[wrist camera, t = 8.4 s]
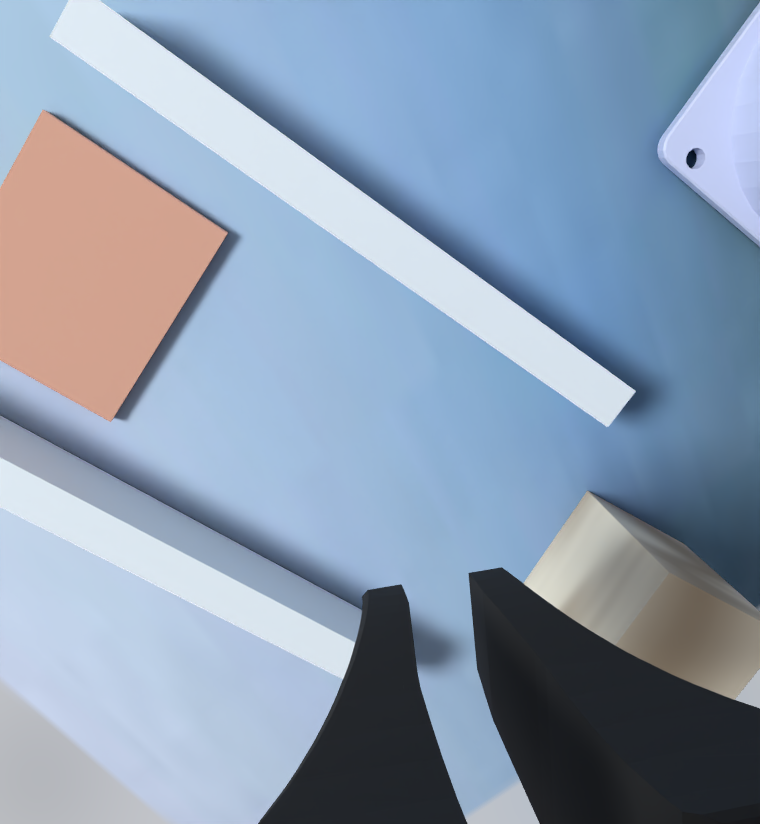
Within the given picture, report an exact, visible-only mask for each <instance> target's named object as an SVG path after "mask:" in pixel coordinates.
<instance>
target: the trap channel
mask: <svg viewBox="0 0 760 824" xmlns="http://www.w3.org/2000/svg"><path fill="white" fill-rule="evenodd" d="M49 37H51V38H52V39H53V40H55V41H56V42H58V43H59V44H61V45H62V46H63V47H65V48H66V49H68V50H69V51H71V52H72V53H73V54H75V55H76V56H78V57H79V58H81V59H82V60H83V61H85V62H86V63H88V64H89V65H91V66H92V67H93V68H95V69H96V70H98V71H99V72H101V73H102V74H103V75H105V76H106V77H108V78H109V79H111V80H112V81H113V82H115V83H116V84H118V85H119V86H121V87H122V88H123V89H125V90H126V91H128V92H129V93H131V94H132V95H133V96H135V97H136V98H138V99H139V100H141V101H142V102H143V103H145V104H146V105H148V106H149V107H151V108H152V109H153V110H155V111H156V112H158V113H159V114H161V115H162V116H163V117H165V118H166V119H168V120H169V121H171V122H172V123H174V124H175V125H176V126H178V127H179V128H181V129H182V130H184V131H185V132H186V133H188V134H189V135H191V136H192V137H194V138H195V139H196V140H198V141H199V142H201V143H202V144H204V145H205V146H206V147H208V148H209V149H211V150H212V151H214V152H215V153H216V154H218V155H219V156H221V157H222V158H224V159H225V160H226V161H228V162H229V163H231V164H232V165H234V166H235V167H236V168H238V169H239V170H241V171H242V172H244V173H245V174H246V175H248V176H249V177H251V178H252V179H254V180H255V181H256V182H258V183H259V184H261V185H262V186H264V187H265V188H266V189H268V190H269V191H271V192H272V193H274V194H275V195H276V196H278V197H279V198H281V199H282V200H284V201H285V202H286V203H288V204H289V205H291V206H292V207H294V208H295V209H296V210H298V211H299V212H301V213H302V214H304V215H305V216H306V217H308V218H309V219H311V220H312V221H314V222H315V223H316V224H318V225H319V226H321V227H322V228H324V229H325V230H326V231H328V232H329V233H331V234H332V235H334V236H335V237H336V238H338V239H339V240H341V241H342V242H344V243H345V244H346V245H348V246H349V247H351V248H352V249H354V250H355V251H356V252H358V253H359V254H361V255H362V256H364V257H365V258H366V259H368V260H369V261H371V262H372V263H374V264H375V265H376V266H378V267H379V268H381V269H382V270H384V271H385V272H387V273H388V274H389V275H391V276H392V277H394V278H395V279H397V280H398V281H399V282H401V283H402V284H404V285H405V286H407V287H408V288H409V289H411V290H412V291H414V292H415V293H417V294H418V295H419V296H421V297H422V298H424V299H425V300H427V301H428V302H429V303H431V304H432V305H434V306H435V307H437V308H438V309H439V310H441V311H442V312H444V313H445V314H447V315H448V316H449V317H451V318H452V319H454V320H455V321H457V322H458V323H459V324H461V325H462V326H464V327H465V328H467V329H468V330H469V331H471V332H472V333H474V334H475V335H477V336H478V337H479V338H481V339H482V340H484V341H485V342H487V343H488V344H489V345H491V346H492V347H494V348H495V349H497V350H498V351H499V352H501V353H502V354H504V355H505V356H507V357H508V358H509V359H511V360H512V361H514V362H515V363H517V364H518V365H519V366H521V367H522V368H524V369H525V370H527V371H528V372H529V373H531V374H532V375H534V376H535V377H537V378H538V379H539V380H541V381H542V382H544V383H545V384H547V385H548V386H549V387H551V388H552V389H554V390H555V391H557V392H558V393H559V394H561V395H562V396H564V397H565V398H567V399H568V400H569V401H571V402H572V403H574V404H575V405H577V406H578V407H579V408H581V409H582V410H584V411H585V412H587V413H588V414H590V415H591V416H592V417H594V418H595V419H597V420H598V421H600V422H601V423H602V424H604V425H605V426H607V427H608V426H609V425H610V424H611V423H612V421H613V420H614V419H615V417H616V416H617V415H618V414H619V412H620V411H621V410H622V408H623V407H624V406H625V405H626V403H627V402H628V401H629V399H630V398H631V397H632V396H633V394H634V393H635V392H636V391H635V390H634V389H632V388H631V387H630V386H628V385H627V384H625V383H624V382H623V381H621V380H620V379H619V378H617V377H616V376H614V375H613V374H612V373H610V372H609V371H608V370H606V369H605V368H603V367H602V366H601V365H599V364H598V363H597V362H595V361H594V360H592V359H591V358H590V357H588V356H587V355H586V354H584V353H583V352H581V351H580V350H579V349H577V348H576V347H575V346H573V345H572V344H571V343H569V342H568V341H566V340H565V339H564V338H562V337H561V336H560V335H558V334H557V333H555V332H554V331H553V330H551V329H550V328H549V327H547V326H546V325H544V324H543V323H542V322H540V321H539V320H538V319H536V318H535V317H533V316H532V315H531V314H529V313H528V312H527V311H525V310H524V309H522V308H521V307H520V306H518V305H517V304H516V303H514V302H513V301H511V300H510V299H509V298H507V297H506V296H505V295H503V294H502V293H501V292H499V291H498V290H496V289H495V288H494V287H492V286H491V285H490V284H488V283H487V282H485V281H484V280H483V279H481V278H480V277H479V276H477V275H476V274H474V273H473V272H472V271H470V270H469V269H468V268H466V267H465V266H463V265H462V264H461V263H459V262H458V261H457V260H455V259H454V258H452V257H451V256H450V255H448V254H447V253H446V252H444V251H443V250H441V249H440V248H439V247H437V246H436V245H435V244H433V243H432V242H431V241H429V240H428V239H426V238H425V237H424V236H422V235H421V234H420V233H418V232H417V231H415V230H414V229H413V228H411V227H410V226H409V225H407V224H406V223H404V222H403V221H402V220H400V219H399V218H398V217H396V216H395V215H393V214H392V213H391V212H389V211H388V210H387V209H385V208H384V207H382V206H381V205H380V204H378V203H377V202H376V201H374V200H373V199H371V198H370V197H369V196H367V195H366V194H365V193H363V192H362V191H361V190H359V189H358V188H356V187H355V186H354V185H352V184H351V183H350V182H348V181H347V180H345V179H344V178H343V177H341V176H340V175H339V174H337V173H336V172H334V171H333V170H332V169H330V168H329V167H328V166H326V165H325V164H323V163H322V162H321V161H319V160H318V159H317V158H315V157H314V156H312V155H311V154H310V153H308V152H307V151H306V150H304V149H303V148H301V147H300V146H299V145H297V144H296V143H295V142H293V141H292V140H290V139H289V138H288V137H286V136H285V135H284V134H282V133H281V132H280V131H278V130H277V129H275V128H274V127H273V126H271V125H270V124H269V123H267V122H266V121H264V120H263V119H262V118H260V117H259V116H258V115H256V114H255V113H253V112H252V111H251V110H249V109H248V108H247V107H245V106H244V105H242V104H241V103H240V102H238V101H237V100H236V99H234V98H233V97H231V96H230V95H229V94H227V93H226V92H225V91H223V90H222V89H220V88H219V87H218V86H216V85H215V84H214V83H212V82H211V81H210V80H208V79H207V78H205V77H204V76H203V75H201V74H200V73H199V72H197V71H196V70H194V69H193V68H192V67H190V66H189V65H188V64H186V63H185V62H183V61H182V60H181V59H179V58H178V57H177V56H175V55H174V54H172V53H171V52H170V51H168V50H167V49H166V48H164V47H163V46H161V45H160V44H159V43H157V42H156V41H155V40H153V39H152V38H150V37H149V36H148V35H146V34H145V33H144V32H142V31H141V30H140V29H138V28H137V27H135V26H134V25H133V24H131V23H130V22H129V21H127V20H126V19H124V18H123V17H122V16H120V15H119V14H118V13H116V12H115V11H113V10H112V9H111V8H109V7H108V6H107V5H105V4H104V3H102V2H101V1H100V0H69V1H68V3H67V5H66V6H65V8H64V10H63V12H62V14H61V16H60V18H59V20H58V21H57V23H56V25H55V27H54V29H53V31H52V33H51V35H50V36H49ZM227 234H228V232H227V231H225V230H224V229H222V228H221V227H219V226H218V225H216V224H215V223H213V222H212V221H210V220H209V219H207V218H206V217H204V216H203V215H201V214H200V213H198V212H197V211H195V210H194V209H192V208H191V207H189V206H188V205H186V204H185V203H183V202H182V201H180V200H179V199H177V198H176V197H174V196H173V195H172V194H170V193H169V192H167V191H166V190H164V189H163V188H161V187H160V186H158V185H157V184H155V183H154V182H152V181H151V180H149V179H148V178H146V177H145V176H143V175H142V174H140V173H139V172H137V171H136V170H134V169H133V168H131V167H130V166H128V165H127V164H125V163H124V162H122V161H121V160H119V159H118V158H116V157H115V156H113V155H112V154H110V153H109V152H107V151H106V150H104V149H103V148H101V147H100V146H98V145H97V144H95V143H94V142H92V141H91V140H89V139H88V138H86V137H85V136H83V135H82V134H80V133H79V132H77V131H76V130H74V129H73V128H71V127H70V126H68V125H67V124H65V123H64V122H62V121H61V120H59V119H58V118H56V117H55V116H53V115H52V114H50V113H49V112H47V111H45V110H43V111H42V112H41V114H40V116H39V118H38V120H37V122H36V123H35V125H34V127H33V129H32V131H31V133H30V134H29V136H28V138H27V140H26V142H25V144H24V145H23V147H22V149H21V151H20V153H19V155H18V156H17V158H16V160H15V162H14V164H13V166H12V167H11V169H10V171H9V173H8V175H7V177H6V178H5V180H4V182H3V184H2V186H1V188H0V360H1V361H3V362H4V363H6V364H8V365H10V366H11V367H13V368H15V369H17V370H19V371H20V372H22V373H24V374H26V375H28V376H29V377H31V378H33V379H35V380H36V381H38V382H40V383H42V384H44V385H45V386H47V387H49V388H51V389H53V390H54V391H56V392H58V393H60V394H62V395H63V396H65V397H67V398H69V399H70V400H72V401H74V402H76V403H78V404H79V405H81V406H83V407H85V408H87V409H88V410H90V411H92V412H94V413H95V414H97V415H99V416H101V417H103V418H104V419H106V420H108V421H110V422H111V421H112V420H113V418H114V417H115V415H116V413H117V412H118V410H119V409H120V407H121V405H122V404H123V402H124V401H125V399H126V397H127V396H128V394H129V392H130V391H131V389H132V388H133V386H134V384H135V383H136V381H137V380H138V378H139V376H140V375H141V373H142V371H143V370H144V368H145V367H146V365H147V363H148V362H149V360H150V359H151V357H152V355H153V354H154V352H155V351H156V349H157V347H158V346H159V344H160V342H161V341H162V339H163V338H164V336H165V334H166V333H167V331H168V330H169V328H170V326H171V325H172V323H173V322H174V320H175V318H176V317H177V315H178V313H179V312H180V310H181V309H182V307H183V305H184V304H185V302H186V301H187V299H188V297H189V296H190V294H191V292H192V291H193V289H194V288H195V286H196V284H197V283H198V281H199V280H200V278H201V276H202V275H203V273H204V272H205V270H206V268H207V267H208V265H209V263H210V262H211V260H212V259H213V257H214V255H215V254H216V252H217V251H218V249H219V247H220V246H221V244H222V242H223V241H224V239H225V238H226V236H227ZM0 507H1V508H3V509H5V510H7V511H9V512H11V513H13V514H15V515H17V516H19V517H21V518H23V519H25V520H27V521H29V522H31V523H33V524H35V525H37V526H39V527H41V528H43V529H45V530H47V531H49V532H51V533H53V534H55V535H57V536H59V537H61V538H63V539H65V540H67V541H69V542H70V543H72V544H74V545H76V546H78V547H80V548H82V549H84V550H86V551H88V552H90V553H92V554H94V555H96V556H98V557H100V558H102V559H104V560H106V561H108V562H110V563H112V564H114V565H116V566H118V567H120V568H122V569H124V570H126V571H128V572H130V573H132V574H134V575H136V576H138V577H140V578H142V579H144V580H146V581H148V582H150V583H152V584H154V585H156V586H158V587H160V588H162V589H164V590H166V591H168V592H170V593H172V594H174V595H176V596H178V597H180V598H182V599H184V600H186V601H188V602H190V603H192V604H194V605H196V606H198V607H200V608H202V609H204V610H206V611H208V612H210V613H212V614H214V615H216V616H218V617H220V618H222V619H224V620H226V621H228V622H230V623H232V624H234V625H236V626H238V627H240V628H242V629H244V630H246V631H248V632H250V633H252V634H254V635H256V636H258V637H260V638H262V639H264V640H266V641H268V642H270V643H272V644H274V645H276V646H278V647H280V648H282V649H284V650H286V651H288V652H290V653H292V654H294V655H296V656H298V657H300V658H302V659H303V660H305V661H307V662H309V663H311V664H313V665H315V666H317V667H319V668H321V669H323V670H325V671H327V672H329V673H331V674H333V675H335V676H337V677H339V678H341V679H343V678H344V676H345V673H346V671H347V668H348V665H349V662H350V659H351V655H352V652H353V649H354V645H355V642H356V639H357V635H358V630H359V626H360V621H361V615H362V610H361V609H359V608H357V607H355V606H353V605H352V604H350V603H348V602H346V601H344V600H342V599H340V598H339V597H337V596H335V595H333V594H331V593H329V592H327V591H326V590H324V589H322V588H320V587H318V586H316V585H314V584H313V583H311V582H309V581H307V580H305V579H303V578H301V577H300V576H298V575H296V574H294V573H292V572H290V571H288V570H286V569H285V568H283V567H281V566H279V565H277V564H275V563H273V562H272V561H270V560H268V559H266V558H264V557H262V556H260V555H259V554H257V553H255V552H253V551H251V550H249V549H247V548H246V547H244V546H242V545H240V544H238V543H236V542H234V541H233V540H231V539H229V538H227V537H225V536H223V535H221V534H220V533H218V532H216V531H214V530H212V529H210V528H208V527H207V526H205V525H203V524H201V523H199V522H197V521H195V520H194V519H192V518H190V517H188V516H186V515H184V514H182V513H181V512H179V511H177V510H175V509H173V508H171V507H169V506H168V505H166V504H164V503H162V502H160V501H158V500H156V499H155V498H153V497H151V496H149V495H147V494H145V493H143V492H142V491H140V490H138V489H136V488H134V487H132V486H130V485H128V484H127V483H125V482H123V481H121V480H119V479H117V478H115V477H114V476H112V475H110V474H108V473H106V472H104V471H102V470H101V469H99V468H97V467H95V466H93V465H91V464H89V463H88V462H86V461H84V460H82V459H80V458H78V457H76V456H75V455H73V454H71V453H69V452H67V451H65V450H63V449H62V448H60V447H58V446H56V445H54V444H52V443H50V442H49V441H47V440H45V439H43V438H41V437H39V436H37V435H36V434H34V433H32V432H30V431H28V430H26V429H24V428H23V427H21V426H19V425H17V424H15V423H13V422H11V421H10V420H8V419H6V418H4V417H2V416H0Z"/></svg>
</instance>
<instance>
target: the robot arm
mask: <svg viewBox="0 0 760 824" xmlns="http://www.w3.org/2000/svg"><path fill="white" fill-rule="evenodd" d="M691 150H694V152H695V153H696V155H697V161H696V163H695V165H694V166H693V167H692V168H689V167H688V165H687V163H686V157H687V154H688V152H689V151H691ZM657 152H658V156H659V159H660V160H661V162H662V163H663V164H664V165H665V166H666V167H667V168H668V169H670V170H671V171H672V172H673V173H674V174H675V175H677V176H678V177H679V178H680V179H681V180H682V181H683V182H685V183H686V184H687V185H688V186H689V187H690V188H692V189H693V190H694V191H695V192H696V193H697V194H699V195H700V196H701V197H702V198H703V199H704V200H706V201H707V202H708V203H709V204H710V205H711V206H713V207H714V208H715V209H716V210H717V211H718V212H720V213H721V214H722V215H723V216H724V217H725V218H727V219H728V220H729V221H730V222H731V223H732V224H734V225H735V226H736V227H737V228H738V229H739V230H741V231H742V232H743V233H744V234H745V235H746V236H748V237H749V238H750V239H751V240H752V241H753V242H755V243H756V244H757V245H758V246H759V247H760V2H759V4H758V5H757V6H756V8H755V9H754V11H753V12H752V13H751V15H750V16H749V17H748V19H747V20H746V22H745V23H744V24H743V26H742V27H741V28H740V30H739V31H738V33H737V34H736V35H735V37H734V38H733V39H732V41H731V42H730V44H729V45H728V46H727V48H726V49H725V50H724V52H723V53H722V54H721V56H720V57H719V59H718V60H717V61H716V63H715V64H714V65H713V67H712V68H711V70H710V71H709V72H708V74H707V75H706V76H705V78H704V79H703V81H702V82H701V83H700V85H699V86H698V87H697V89H696V90H695V92H694V93H693V94H692V96H691V97H690V98H689V100H688V101H687V102H686V104H685V105H684V107H683V108H682V109H681V111H680V112H679V113H678V115H677V116H676V118H675V119H674V120H673V122H672V123H671V124H670V126H669V127H668V129H667V130H666V131H665V133H664V134H663V135H662V137H661V139H660V141H659V143H658V150H657ZM469 583H470V594H471V605H472V616H473V628H474V639H475V650H476V661H477V670H478V673H479V676H480V680H481V683H482V686H483V689H484V693H485V696H486V699H487V702H488V705H489V708H490V712H491V715H492V718H493V721H494V723H495V725H496V727H497V730H498V732H499V734H500V737H501V739H502V741H503V743H504V745H505V748H506V750H507V752H508V754H509V757H510V759H511V761H512V763H513V766H514V768H515V770H516V772H517V774H518V777H519V779H520V781H521V783H522V785H523V788H524V790H525V792H526V794H527V796H528V799H529V801H530V803H531V805H532V807H533V810H534V812H535V814H536V816H537V818H538V821H539V823H540V824H760V709H759V708H757V707H754V706H751V705H748V704H745V703H742V702H739V701H736V700H734V699H731V698H728V697H726V696H723V695H721V694H718V693H715V692H713V691H710V690H708V689H705V688H703V687H700V686H698V685H695V684H693V683H690V682H688V681H686V680H683V679H681V678H679V677H677V676H674V675H672V674H670V673H668V672H666V671H664V670H662V669H660V668H658V667H656V666H654V665H652V664H650V663H647V662H645V661H643V660H641V659H639V658H637V657H635V656H634V655H632V654H630V653H628V652H626V651H624V650H622V649H621V648H619V647H617V646H616V645H614V644H612V643H610V642H609V641H607V640H605V639H604V638H602V637H600V636H599V635H597V634H595V633H594V632H592V631H590V630H589V629H587V628H586V627H584V626H583V625H581V624H579V623H578V622H576V621H575V620H573V619H572V618H570V617H569V616H567V615H566V614H565V613H563V612H562V611H560V610H559V609H557V608H556V607H554V606H553V605H552V604H550V603H549V602H547V601H546V600H545V599H543V598H542V597H541V596H539V595H538V594H537V593H535V592H534V591H533V590H531V589H530V588H529V587H527V586H526V585H525V584H523V583H522V582H521V581H519V580H518V579H517V578H515V577H514V576H513V575H511V574H510V573H509V572H507V571H506V570H505V569H503V568H496V569H490V570H484V571H478V572H472V573H469ZM362 601H363V606H362V615H361V621H360V626H359V630H358V635H357V639H356V642H355V645H354V649H353V652H352V655H351V659H350V662H349V665H348V668H347V671H346V673H345V676H344V678H343V681H342V683H341V686H340V688H339V691H338V693H337V696H336V698H335V701H334V703H333V705H332V707H331V709H330V712H329V714H328V716H327V718H326V720H325V722H324V724H323V726H322V728H321V730H320V731H319V733H318V735H317V737H316V739H315V741H314V743H313V744H312V746H311V748H310V749H309V751H308V753H307V754H306V756H305V758H304V759H303V761H302V763H301V764H300V766H299V768H298V769H297V771H296V772H295V774H294V775H293V777H292V778H291V780H290V781H289V783H288V784H287V786H286V787H285V789H284V790H283V791H282V793H281V794H280V795H279V797H278V798H277V799H276V801H275V802H274V803H273V804H272V806H271V807H270V808H269V810H268V811H267V812H266V814H265V815H264V816H263V818H262V819H261V820H260V822H259V823H258V824H467V822H466V819H465V817H464V814H463V812H462V809H461V807H460V804H459V802H458V799H457V797H456V794H455V791H454V788H453V786H452V783H451V780H450V777H449V775H448V772H447V769H446V766H445V763H444V761H443V758H442V755H441V752H440V749H439V746H438V743H437V740H436V737H435V733H434V730H433V727H432V724H431V721H430V718H429V715H428V711H427V708H426V705H425V702H424V698H423V695H422V692H421V688H420V683H419V678H418V673H417V666H416V658H415V650H414V641H413V633H412V625H411V617H410V609H409V602H408V600H407V597H406V594H405V592H404V589H403V587H402V585H395V586H390V587H384V588H378V589H372V590H367V592H366V593H365V594H364V595H363V597H362Z"/></svg>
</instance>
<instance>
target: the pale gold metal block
mask: <svg viewBox="0 0 760 824" xmlns="http://www.w3.org/2000/svg"><path fill="white" fill-rule="evenodd" d="M523 584H525V585H526V586H527V587H529V588H530V589H531V590H533V591H534V592H535V593H537V594H538V595H539V596H541V597H542V598H543V599H545V600H546V601H547V602H549V603H550V604H552V605H553V606H554V607H556V608H557V609H559V610H560V611H562V612H563V613H565V614H566V615H567V616H569V617H570V618H572V619H573V620H575V621H576V622H578V623H579V624H581V625H583V626H584V627H586V628H587V629H589V630H590V631H592V632H594V633H595V634H597V635H599V636H600V637H602V638H604V639H605V640H607V641H609V642H610V643H612V644H614V645H616V646H617V647H619V648H621V649H622V650H624V651H626V652H628V653H630V654H632V655H634V656H635V657H637V658H639V659H641V660H643V661H645V662H647V663H650V664H652V665H654V666H656V667H658V668H660V669H662V670H664V671H666V672H668V673H670V674H672V675H674V676H677V677H679V678H681V679H683V680H686V681H688V682H690V683H693V684H695V685H698V686H700V687H703V688H705V689H708V690H710V691H713V692H715V693H718V694H721V695H723V696H726V697H728V698H731V699H734V700H735V699H736V697H737V696H738V695H739V694H740V692H741V691H742V690H743V689H744V687H745V686H746V685H747V683H748V682H749V681H750V680H751V679H752V677H753V676H754V675H755V674H756V672H757V671H758V670H759V669H760V611H759V610H758V609H757V608H755V607H754V606H753V605H752V604H751V603H750V602H749V601H748V600H746V599H745V598H744V597H743V596H742V595H741V594H740V593H739V592H737V591H736V590H735V589H734V588H733V587H732V586H731V585H730V584H729V583H727V582H726V581H725V580H724V579H723V578H722V577H721V576H720V575H718V574H717V573H716V572H715V571H714V570H713V569H712V568H711V567H709V566H708V565H707V564H706V563H705V562H704V561H703V560H702V559H700V558H699V557H698V556H697V555H696V554H695V553H694V552H693V551H691V550H690V549H689V548H688V547H687V546H686V545H685V544H683V543H682V542H680V541H678V540H676V539H674V538H673V537H671V536H669V535H667V534H665V533H663V532H662V531H660V530H658V529H656V528H654V527H653V526H651V525H649V524H647V523H645V522H644V521H642V520H640V519H638V518H636V517H634V516H633V515H631V514H629V513H627V512H625V511H624V510H622V509H620V508H618V507H616V506H614V505H613V504H611V503H609V502H607V501H605V500H604V499H602V498H600V497H598V496H596V495H595V494H593V493H591V492H589V491H587V492H586V494H585V495H584V497H583V498H582V499H581V501H580V502H579V504H578V505H577V507H576V508H575V510H574V511H573V512H572V514H571V515H570V517H569V518H568V520H567V521H566V523H565V524H564V525H563V527H562V528H561V530H560V531H559V533H558V534H557V536H556V537H555V538H554V540H553V541H552V543H551V544H550V546H549V547H548V549H547V550H546V551H545V553H544V554H543V556H542V557H541V559H540V560H539V562H538V563H537V564H536V566H535V567H534V569H533V570H532V572H531V573H530V575H529V576H528V577H527V579H526V580H525V582H524V583H523Z"/></svg>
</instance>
